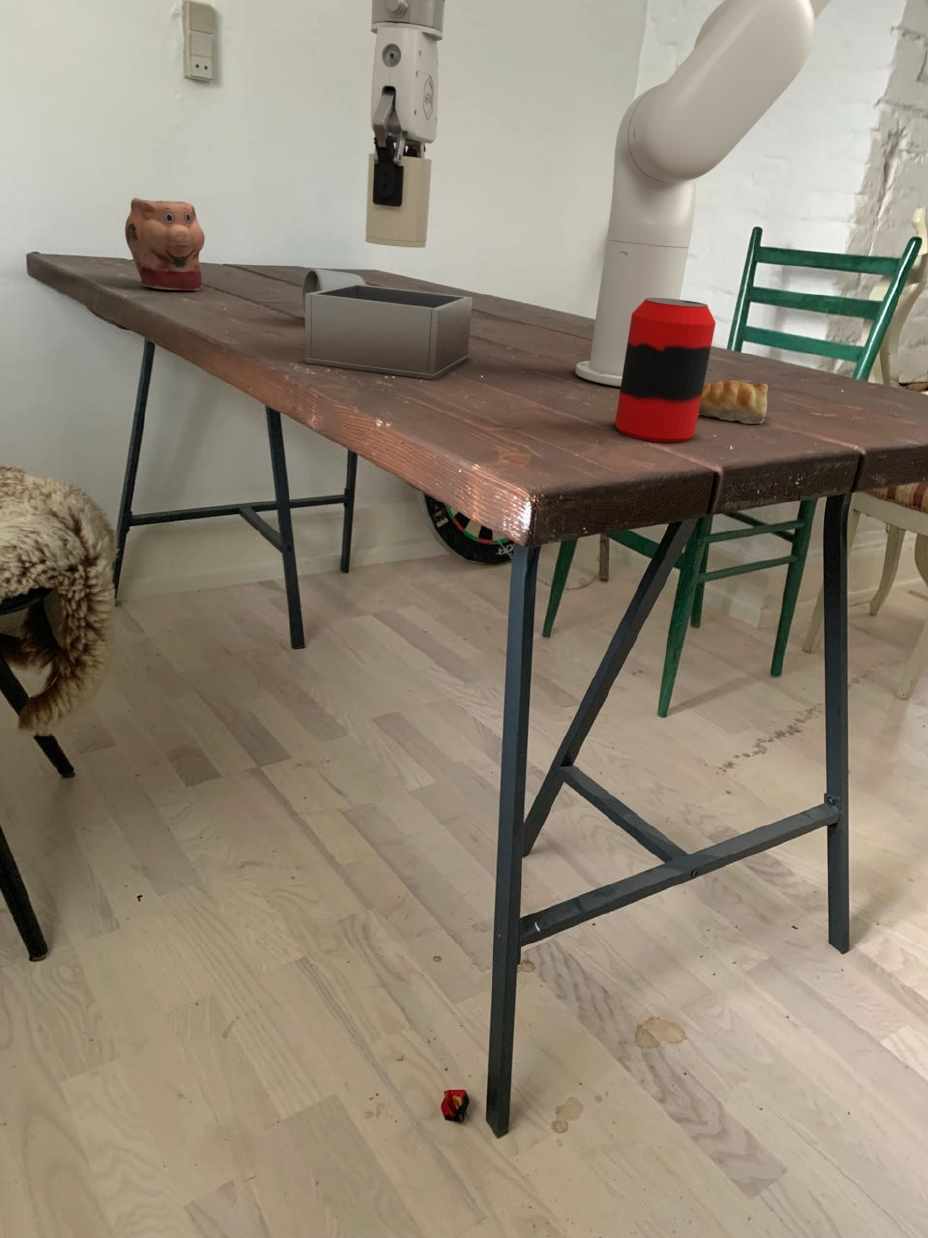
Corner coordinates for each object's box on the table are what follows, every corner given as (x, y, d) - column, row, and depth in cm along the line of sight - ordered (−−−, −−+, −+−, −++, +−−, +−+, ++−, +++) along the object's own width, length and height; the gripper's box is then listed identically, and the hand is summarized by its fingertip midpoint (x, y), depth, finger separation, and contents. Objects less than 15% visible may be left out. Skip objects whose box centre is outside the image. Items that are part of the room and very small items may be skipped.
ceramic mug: (372, 328, 132) (374, 272, 129) (320, 329, 128) (321, 270, 125) (341, 318, 140) (341, 265, 137) (291, 318, 136) (290, 263, 133)
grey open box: (467, 359, 116) (472, 297, 112) (434, 380, 102) (438, 309, 98) (352, 345, 118) (353, 283, 115) (304, 362, 105) (305, 293, 101)
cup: (432, 246, 106) (438, 160, 102) (415, 248, 100) (421, 157, 96) (376, 239, 108) (380, 155, 104) (356, 241, 101) (359, 151, 98)
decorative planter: (109, 280, 159) (102, 192, 153) (175, 280, 166) (171, 197, 160) (157, 295, 146) (151, 200, 140) (226, 295, 153) (224, 205, 147)
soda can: (710, 440, 86) (736, 308, 81) (652, 445, 82) (676, 307, 77) (654, 421, 92) (676, 296, 87) (598, 425, 88) (617, 295, 83)
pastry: (675, 414, 95) (682, 378, 94) (675, 403, 101) (681, 368, 100) (766, 426, 94) (775, 389, 92) (761, 414, 100) (769, 378, 98)
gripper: (418, 4, 86) (406, 208, 94) (462, 35, 102) (449, 209, 109) (344, -1, 88) (338, 201, 95) (398, 31, 103) (390, 202, 111)
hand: (398, 204), depth 102 cm, fingers closed on cup, 7 cm apart
